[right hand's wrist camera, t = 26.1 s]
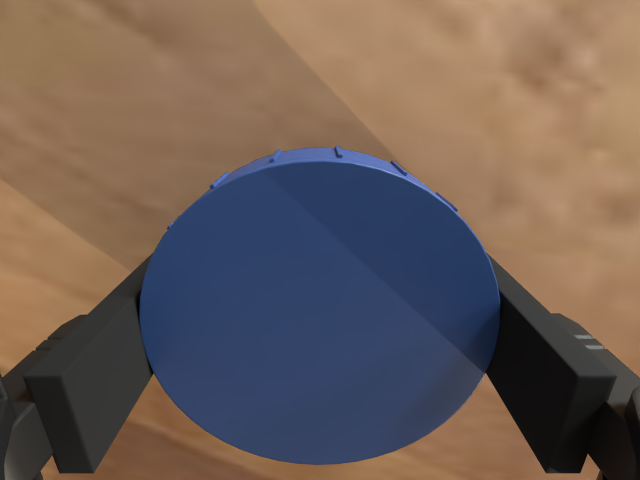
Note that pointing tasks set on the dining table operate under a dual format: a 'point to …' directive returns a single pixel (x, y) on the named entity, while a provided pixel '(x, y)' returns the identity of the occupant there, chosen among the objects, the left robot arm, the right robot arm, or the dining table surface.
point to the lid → (319, 308)
